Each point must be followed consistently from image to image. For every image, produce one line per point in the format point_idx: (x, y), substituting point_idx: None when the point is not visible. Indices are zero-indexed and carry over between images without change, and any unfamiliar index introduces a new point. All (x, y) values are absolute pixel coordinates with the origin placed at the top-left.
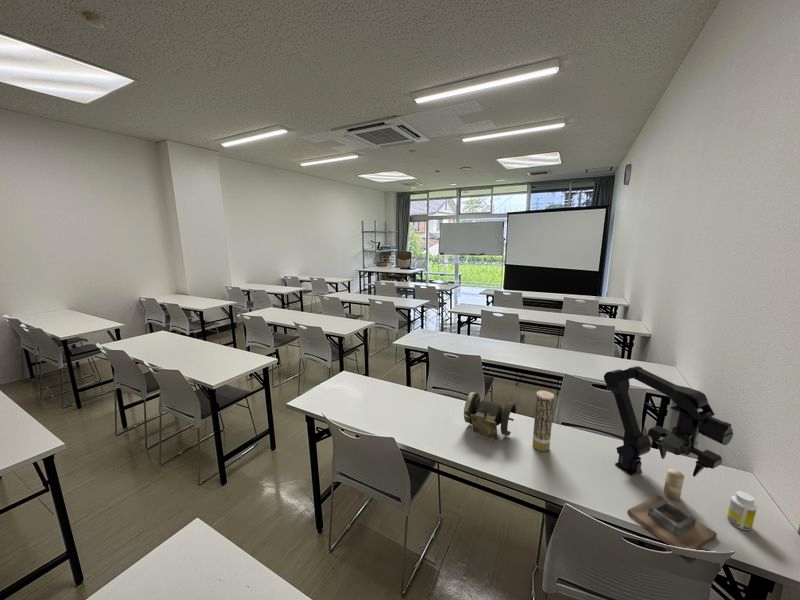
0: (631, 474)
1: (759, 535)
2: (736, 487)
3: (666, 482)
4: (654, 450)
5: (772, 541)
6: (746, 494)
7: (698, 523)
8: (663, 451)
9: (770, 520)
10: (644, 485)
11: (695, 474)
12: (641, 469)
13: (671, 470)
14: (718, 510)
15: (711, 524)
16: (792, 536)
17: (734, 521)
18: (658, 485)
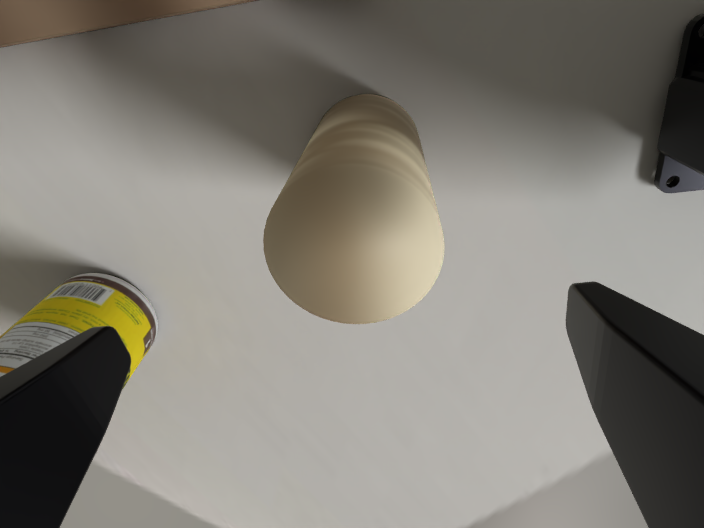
0: (692, 24)
1: None
2: (324, 509)
3: (393, 131)
4: None
5: None
6: None
7: (32, 8)
8: (677, 420)
9: (136, 443)
10: (535, 25)
11: (34, 358)
12: (663, 190)
13: (411, 258)
14: (204, 308)
15: (97, 152)
16: None
17: (75, 286)
18: (480, 159)
